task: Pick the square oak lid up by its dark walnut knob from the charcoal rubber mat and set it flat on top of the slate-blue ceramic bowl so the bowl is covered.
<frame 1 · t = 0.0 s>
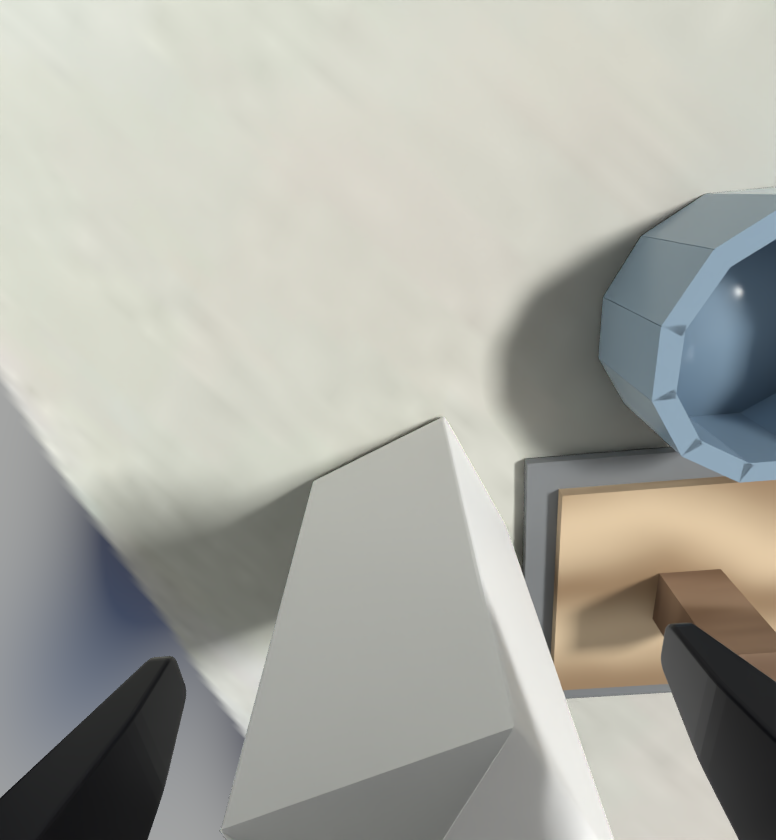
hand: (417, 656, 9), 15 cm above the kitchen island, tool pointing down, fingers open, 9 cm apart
oak lid: (679, 586, 27), resting on rubber mat
ceramic bowl: (719, 317, 22), on the kitchen island
rubber mat: (674, 579, 27), on the kitchen island
milk carton: (411, 500, 26), on the kitchen island
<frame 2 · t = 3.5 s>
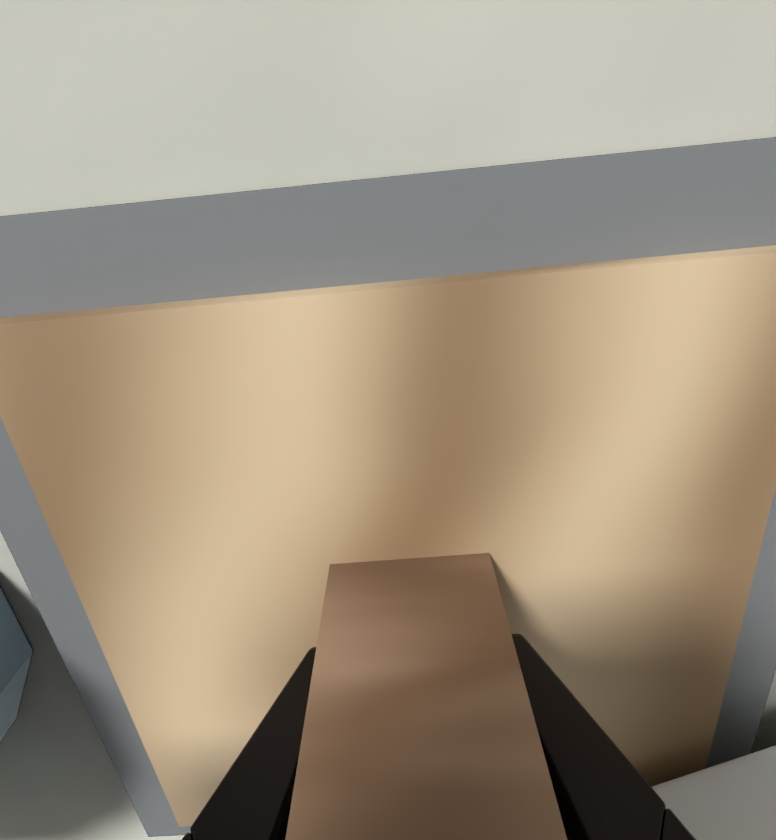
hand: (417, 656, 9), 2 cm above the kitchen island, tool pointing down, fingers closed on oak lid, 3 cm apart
oak lid: (413, 596, 11), resting on rubber mat, touching gripper, milk carton
rubber mat: (412, 580, 11), on the kitchen island
when the fingers open (10 cm above the kitchen island, at t = 6.0 s): oak lid stays where it is, resting on ceramic bowl.
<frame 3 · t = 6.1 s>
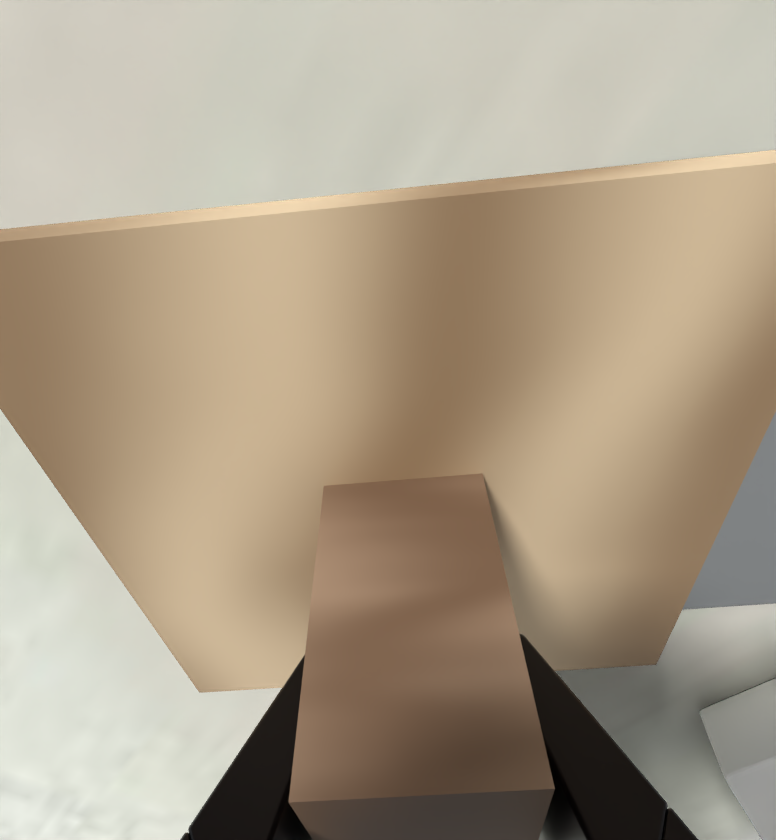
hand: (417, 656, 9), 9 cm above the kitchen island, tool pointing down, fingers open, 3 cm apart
oak lid: (406, 509, 11), point 7 cm above the kitchen island, tilted 15°, touching ceramic bowl
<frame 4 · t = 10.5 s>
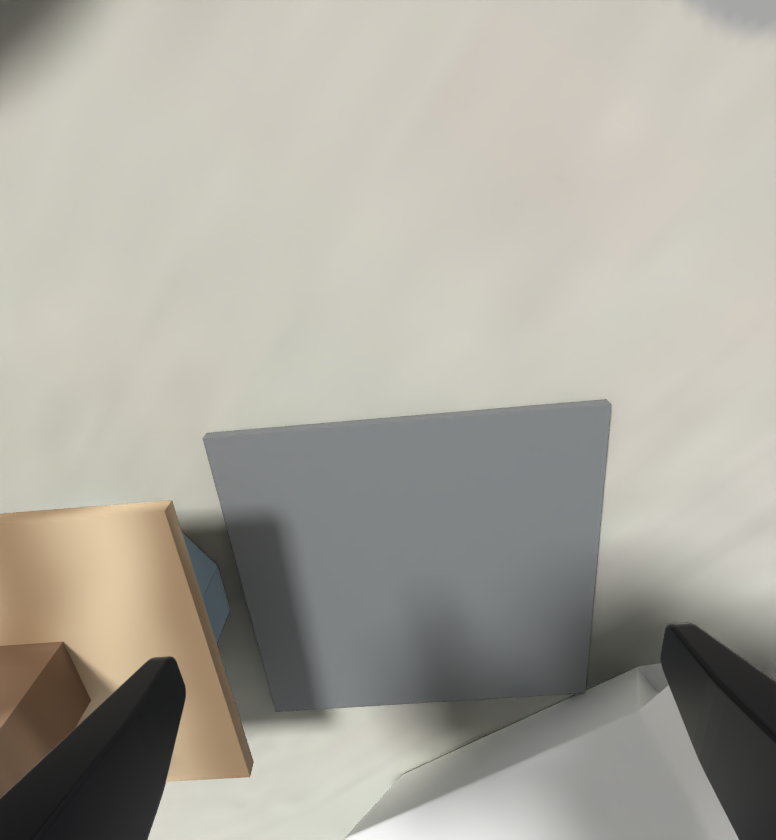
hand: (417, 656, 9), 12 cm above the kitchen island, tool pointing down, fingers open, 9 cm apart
oak lid: (47, 660, 19), point 5 cm above the kitchen island, touching ceramic bowl
ceramic bowl: (122, 595, 24), on the kitchen island
rubber mat: (417, 574, 24), on the kitchen island
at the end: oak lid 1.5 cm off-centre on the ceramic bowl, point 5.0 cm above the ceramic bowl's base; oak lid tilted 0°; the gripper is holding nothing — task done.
